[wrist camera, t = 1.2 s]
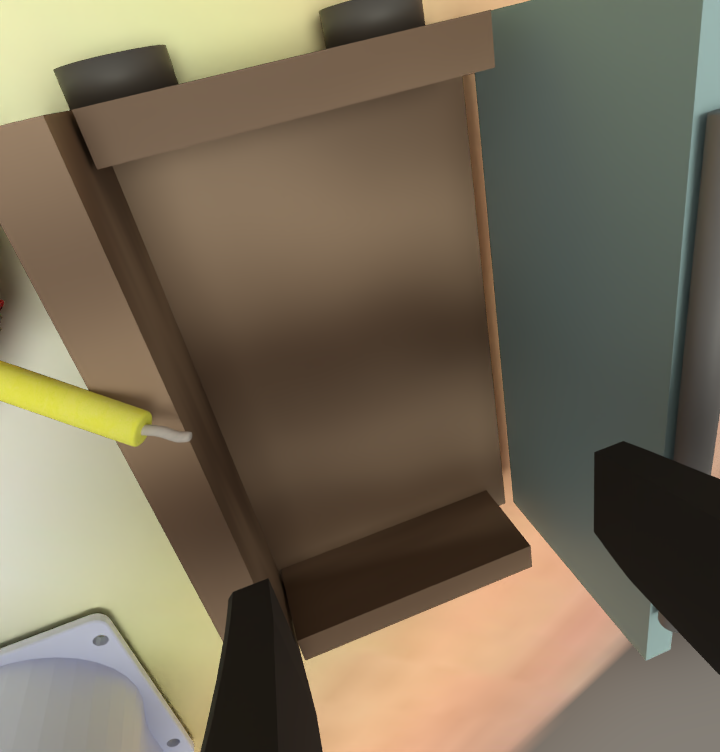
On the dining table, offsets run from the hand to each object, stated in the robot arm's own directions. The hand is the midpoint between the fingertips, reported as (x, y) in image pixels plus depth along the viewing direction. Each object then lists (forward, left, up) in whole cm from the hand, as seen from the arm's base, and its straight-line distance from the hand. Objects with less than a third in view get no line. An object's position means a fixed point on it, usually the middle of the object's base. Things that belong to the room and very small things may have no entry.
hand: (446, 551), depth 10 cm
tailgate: (0, -5, -8) cm, 10 cm away
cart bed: (0, 0, -9) cm, 9 cm away
